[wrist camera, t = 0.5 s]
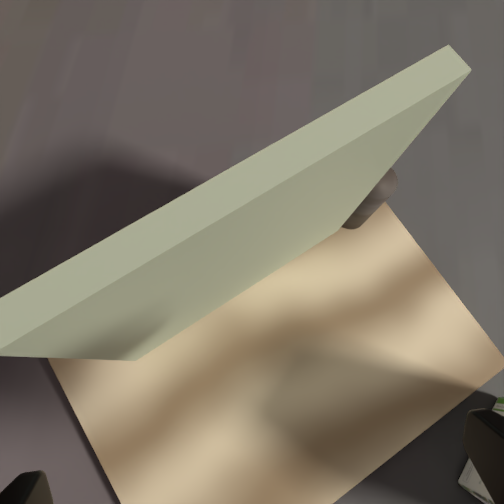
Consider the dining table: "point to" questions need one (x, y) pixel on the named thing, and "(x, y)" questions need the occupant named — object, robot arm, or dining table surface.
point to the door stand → (290, 377)
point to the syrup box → (470, 476)
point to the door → (224, 229)
